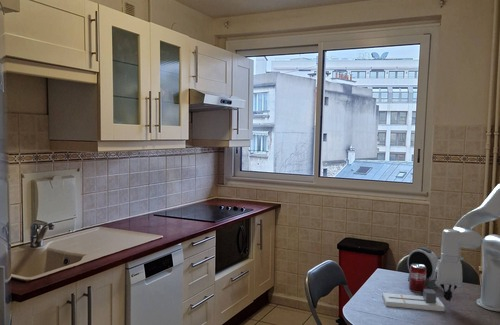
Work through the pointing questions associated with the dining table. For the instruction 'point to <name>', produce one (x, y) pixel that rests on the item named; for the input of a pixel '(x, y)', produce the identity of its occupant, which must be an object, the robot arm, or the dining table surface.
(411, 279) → the soda can
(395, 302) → the console
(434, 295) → the fader knob
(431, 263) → the alarm clock
